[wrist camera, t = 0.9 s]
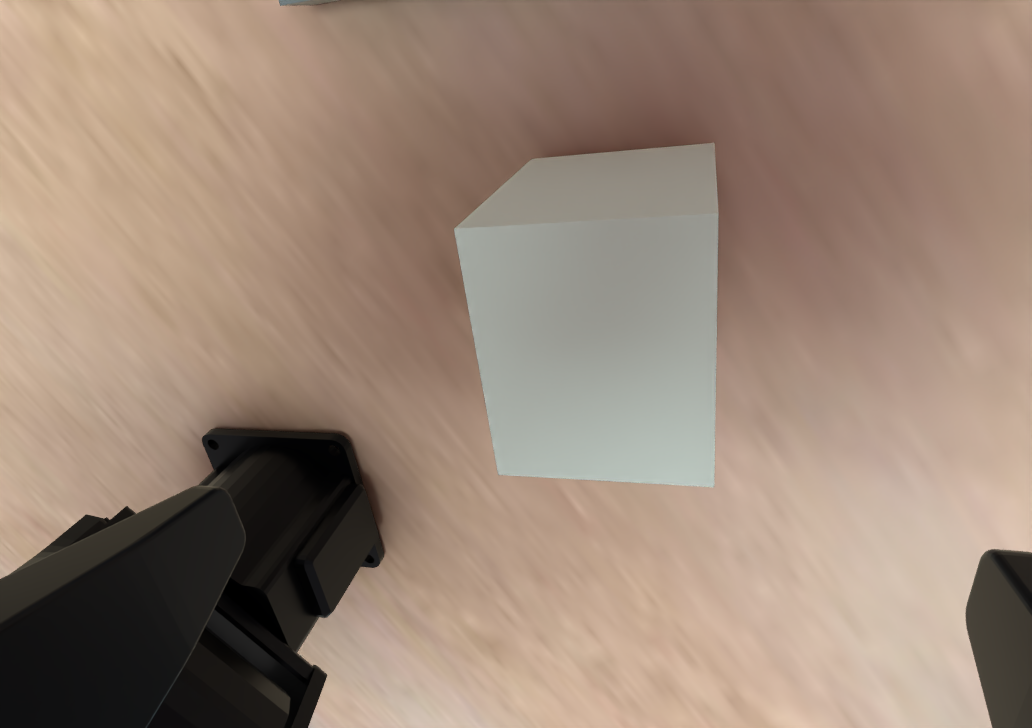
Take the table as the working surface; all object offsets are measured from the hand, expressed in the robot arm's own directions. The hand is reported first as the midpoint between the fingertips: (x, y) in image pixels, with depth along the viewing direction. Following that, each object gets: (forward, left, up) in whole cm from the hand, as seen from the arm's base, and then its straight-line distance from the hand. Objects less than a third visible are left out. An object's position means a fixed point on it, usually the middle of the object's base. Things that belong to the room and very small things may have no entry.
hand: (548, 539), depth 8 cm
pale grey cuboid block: (0, 0, -12) cm, 12 cm away
